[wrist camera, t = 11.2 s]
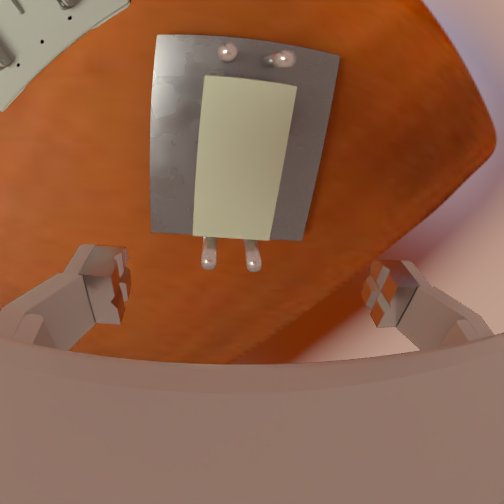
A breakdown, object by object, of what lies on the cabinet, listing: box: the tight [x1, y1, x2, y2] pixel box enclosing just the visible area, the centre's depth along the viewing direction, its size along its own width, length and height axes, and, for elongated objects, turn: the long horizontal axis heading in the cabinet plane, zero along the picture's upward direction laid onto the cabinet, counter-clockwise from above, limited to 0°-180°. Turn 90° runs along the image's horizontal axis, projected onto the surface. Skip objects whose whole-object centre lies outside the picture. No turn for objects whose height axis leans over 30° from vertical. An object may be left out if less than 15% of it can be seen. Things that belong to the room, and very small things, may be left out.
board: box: [193, 75, 297, 241], centre depth 18 cm, size 10×5×3 cm, turn 172°
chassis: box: [150, 35, 340, 272], centre depth 20 cm, size 16×13×8 cm
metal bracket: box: [0, 0, 130, 112], centre depth 13 cm, size 14×6×15 cm
